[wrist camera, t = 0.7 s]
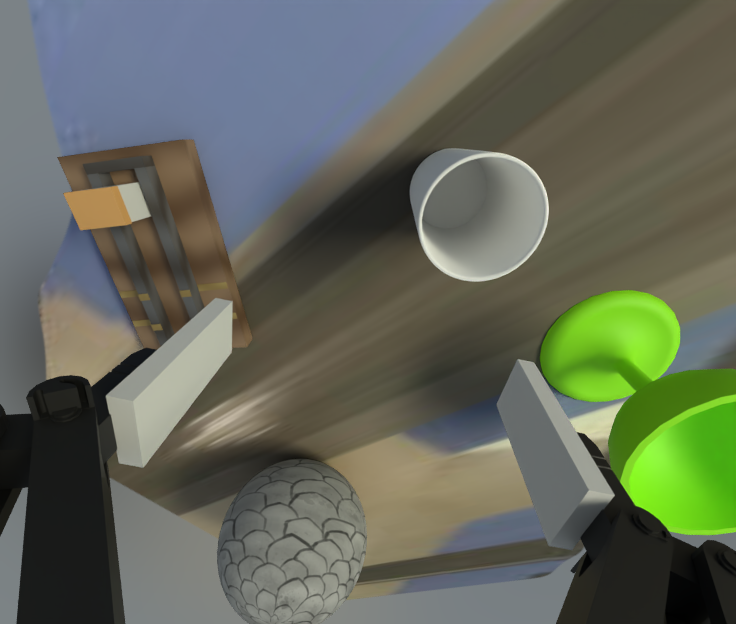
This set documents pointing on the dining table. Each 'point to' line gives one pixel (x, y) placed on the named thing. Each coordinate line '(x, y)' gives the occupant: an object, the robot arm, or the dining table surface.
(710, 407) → the wineglass
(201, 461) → the dining table surface
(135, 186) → the fader knob
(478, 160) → the cup
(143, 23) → the dining table surface
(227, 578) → the decorative sphere
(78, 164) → the wooden tray
